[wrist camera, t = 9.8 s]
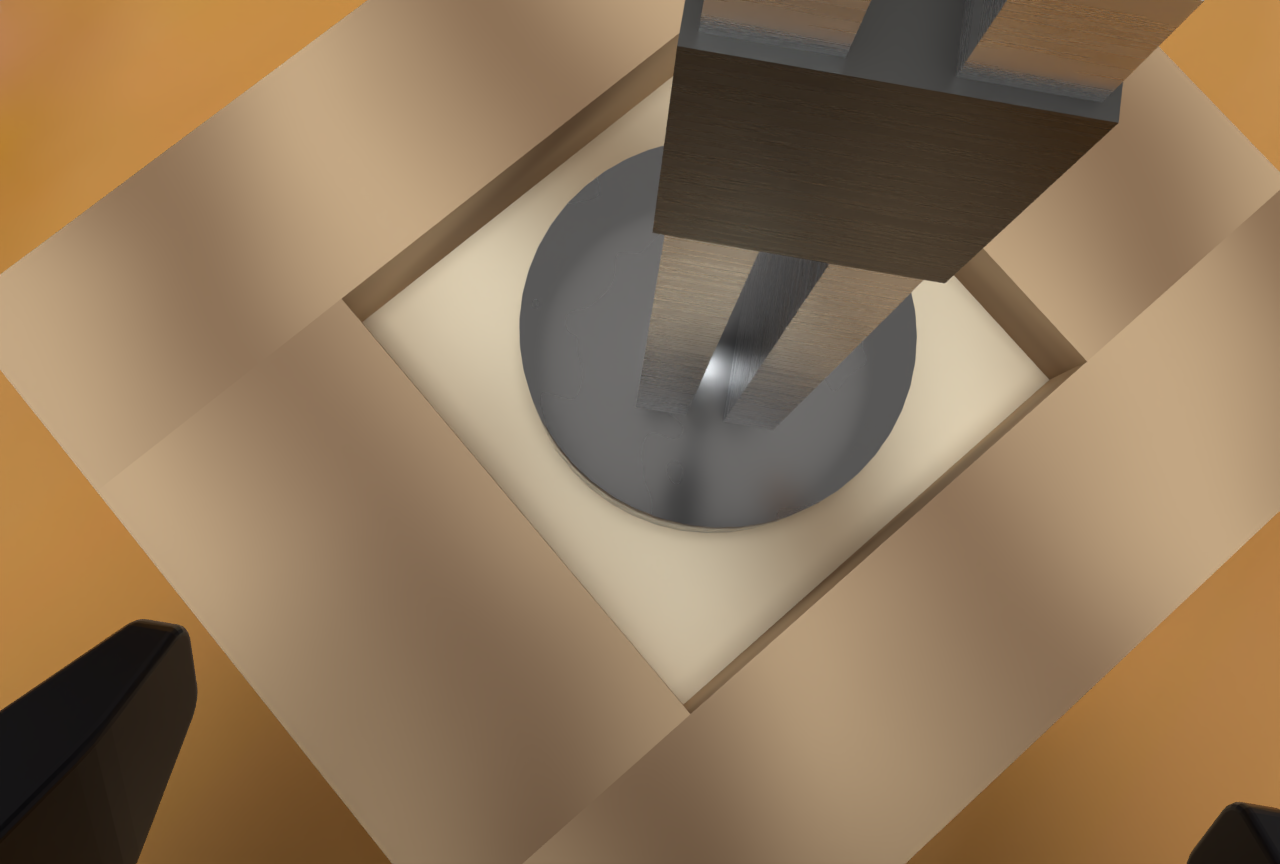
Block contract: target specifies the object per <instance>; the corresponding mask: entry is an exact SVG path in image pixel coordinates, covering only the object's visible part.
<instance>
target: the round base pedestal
mask: <svg viewBox="0 0 1280 864" xmlns="http://www.w3.org/2000/svg"><path fill="white" fill-rule="evenodd" d="M1203 2H1204V0H685V4H684V10H683V15H682V21H681V27H680V32H679V38H678V44H677V51H676V58H675V66H674V73H673V81H672V88H671V96H670V104H669V111H668V119H667V126H666V134H665V141H664V146H660V147H657V148H653V149H649V150H647V151H645V152H642V153H640V154H637V155H635V156H632V157H630V158H628V159H625V160H624V161H622V162H620V163H618V164H617V165H615V166H613V167H611V168H610V169H608V170H606V171H604V172H603V173H602V174H600V175H599V176H598V177H597V178H595V179H594V180H593V181H591V182H590V183H589V184H587V185H586V186H585V187H584V188H583V189H582V190H581V191H580V192H579V193H578V194H577V195H575V196H574V197H573V198H572V199H571V200H570V201H569V202H568V203H567V204H566V206H565V207H564V208H563V210H562V211H561V212H560V213H559V215H558V216H557V217H556V219H555V220H554V221H553V222H552V224H551V225H550V227H549V229H548V231H547V232H546V234H545V236H544V237H543V239H542V241H541V243H540V244H539V246H538V248H537V251H536V253H535V256H534V258H533V261H532V263H531V265H530V268H529V271H528V275H527V278H526V282H525V286H524V290H523V294H522V302H521V310H520V318H519V329H520V350H521V357H522V364H523V370H524V374H525V377H526V381H527V384H528V387H529V391H530V394H531V397H532V400H533V403H534V406H535V408H536V411H537V413H538V416H539V418H540V420H541V423H542V425H543V427H544V429H545V432H546V434H547V435H548V437H549V439H550V440H551V442H552V444H553V445H554V447H555V448H556V450H557V452H558V453H559V455H560V456H561V457H562V458H563V460H564V461H565V462H566V463H567V465H568V466H569V467H570V468H571V470H572V471H573V472H574V473H575V474H576V475H577V476H578V477H579V478H580V479H581V480H582V481H583V482H584V483H585V484H586V485H587V486H589V487H590V488H591V489H592V490H593V491H594V492H596V493H597V494H598V495H600V496H601V497H603V498H604V499H605V500H607V501H608V502H610V503H611V504H612V505H614V506H616V507H618V508H620V509H622V510H623V511H625V512H627V513H629V514H631V515H633V516H635V517H638V518H640V519H643V520H645V521H648V522H651V523H653V524H656V525H660V526H664V527H668V528H672V529H676V530H680V531H690V532H699V533H727V532H736V531H742V530H748V529H754V528H757V527H761V526H764V525H767V524H771V523H774V522H777V521H780V520H782V519H784V518H786V517H789V516H791V515H793V514H795V513H797V512H800V511H802V510H804V509H806V508H809V507H811V506H813V505H815V504H817V503H819V502H820V501H822V500H823V499H825V498H827V497H828V496H830V495H831V494H833V493H835V492H836V491H838V490H839V489H840V488H842V487H843V486H844V485H845V484H846V483H848V482H849V481H850V480H851V479H852V478H854V477H855V476H856V475H857V474H858V473H859V472H860V471H861V470H862V469H863V468H864V467H865V466H866V465H867V464H868V462H869V461H870V460H871V459H872V458H873V457H874V456H875V455H876V453H877V452H878V451H879V449H880V448H881V446H882V445H883V443H884V442H885V440H886V439H887V438H888V436H889V435H890V433H891V431H892V429H893V427H894V425H895V423H896V421H897V419H898V417H899V415H900V413H901V412H902V409H903V406H904V403H905V400H906V398H907V395H908V392H909V389H910V386H911V381H912V376H913V371H914V366H915V359H916V343H917V330H916V315H915V308H914V303H913V298H912V293H911V292H912V291H913V290H914V289H915V288H916V287H917V286H918V285H919V284H920V283H921V282H922V281H923V280H927V281H933V282H939V283H946V282H947V281H948V280H949V279H950V278H951V277H952V276H954V275H955V274H956V273H957V272H958V271H959V270H960V269H961V268H962V267H963V266H964V265H965V264H967V263H968V262H969V261H970V260H971V259H972V258H973V257H974V256H975V255H976V254H977V253H978V252H980V251H981V250H982V249H983V248H984V247H985V246H986V245H987V244H988V243H989V242H990V241H991V240H993V239H994V238H995V237H996V236H997V235H998V234H999V233H1000V232H1001V231H1002V230H1003V229H1004V228H1006V227H1007V226H1008V225H1009V224H1010V223H1011V222H1012V221H1013V220H1014V219H1015V218H1016V217H1017V216H1018V215H1020V214H1021V213H1022V212H1023V211H1024V210H1025V209H1026V208H1027V207H1028V206H1029V205H1030V204H1031V203H1033V202H1034V201H1035V200H1036V199H1037V198H1038V197H1039V196H1040V195H1041V194H1042V193H1043V192H1044V191H1046V190H1047V189H1048V188H1049V187H1050V186H1051V185H1052V184H1053V183H1054V182H1055V181H1056V180H1057V179H1059V178H1060V177H1061V176H1062V175H1063V174H1064V173H1065V172H1066V171H1067V170H1068V169H1069V168H1070V167H1072V166H1073V165H1074V164H1075V163H1076V162H1077V161H1078V160H1079V159H1080V158H1081V157H1082V156H1083V155H1084V154H1086V153H1087V152H1088V151H1089V150H1090V149H1091V148H1092V147H1093V146H1094V145H1095V144H1096V143H1097V142H1099V141H1100V140H1101V139H1102V138H1103V137H1104V136H1105V135H1106V134H1107V133H1108V132H1109V131H1110V130H1112V129H1113V128H1114V127H1115V126H1116V125H1117V124H1118V123H1119V116H1120V106H1121V97H1122V87H1123V81H1124V80H1125V79H1126V78H1127V77H1128V76H1129V75H1130V74H1131V73H1132V72H1133V71H1134V70H1135V69H1136V68H1137V67H1138V66H1139V65H1140V64H1141V63H1142V62H1143V61H1144V60H1145V59H1146V58H1147V57H1148V56H1149V55H1150V54H1151V53H1152V52H1153V51H1154V50H1155V49H1156V48H1157V47H1158V46H1159V45H1160V44H1161V43H1162V42H1163V41H1164V40H1165V39H1166V38H1167V37H1168V36H1169V35H1170V34H1171V33H1172V32H1173V31H1174V30H1175V29H1176V28H1177V27H1178V26H1179V25H1180V24H1181V23H1182V22H1183V21H1184V20H1185V19H1186V18H1187V17H1188V16H1189V15H1190V14H1191V13H1192V12H1193V11H1194V10H1195V9H1197V8H1198V7H1199V6H1200V5H1201V4H1202V3H1203Z"/></svg>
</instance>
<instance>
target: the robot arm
mask: <svg viewBox="0 0 1280 864" xmlns="http://www.w3.org/2000/svg"><path fill="white" fill-rule="evenodd" d="M196 701H197V682H196V676H195V669H194V662H193V655H192V648H191V642H190V637H189V634H188V632H187V630H186V629H185V628H184V627H183V626H180V625H177V624H171V623H165V622H159V621H153V620H146V619H140V620H136V621H134V622H131V623H129V624H127V625H126V626H124V627H123V628H121V629H120V630H118V631H117V632H115V633H114V634H112V635H111V636H110V637H108V638H107V639H105V640H104V641H102V642H101V643H99V644H98V645H96V646H95V647H93V648H92V649H90V650H89V651H88V652H86V653H85V654H83V655H82V656H80V657H79V658H77V659H76V660H74V661H73V662H71V663H70V664H68V665H67V666H65V667H64V668H63V669H61V670H60V671H58V672H57V673H55V674H54V675H52V676H51V677H49V678H48V679H46V680H45V681H43V682H42V683H41V684H39V685H38V686H36V687H35V688H33V689H32V690H30V691H29V692H27V693H26V694H24V695H23V696H21V697H20V698H18V699H17V700H16V701H14V702H13V703H11V704H10V705H8V706H7V707H5V708H4V709H2V710H1V711H0V864H136V863H137V861H138V859H139V856H140V854H141V851H142V848H143V846H144V843H145V840H146V838H147V835H148V833H149V830H150V827H151V825H152V822H153V820H154V817H155V814H156V812H157V809H158V806H159V804H160V801H161V799H162V796H163V793H164V791H165V788H166V786H167V783H168V780H169V778H170V775H171V772H172V770H173V767H174V765H175V762H176V759H177V757H178V754H179V752H180V749H181V746H182V744H183V741H184V738H185V736H186V733H187V731H188V728H189V725H190V723H191V720H192V717H193V714H194V711H195V707H196ZM1187 864H1280V809H1277V808H1273V807H1267V806H1261V805H1255V804H1249V803H1243V802H1235V803H1233V804H1230V805H1228V806H1227V807H1226V808H1225V809H1224V810H1223V811H1222V812H1221V813H1220V815H1219V816H1218V817H1217V819H1216V820H1215V821H1214V823H1213V824H1212V825H1211V827H1210V828H1209V829H1208V831H1207V832H1206V833H1205V835H1204V836H1203V837H1202V839H1201V840H1200V841H1199V843H1198V844H1197V845H1196V847H1195V848H1194V849H1193V851H1192V852H1191V854H1190V856H1189V859H1188V862H1187Z"/></svg>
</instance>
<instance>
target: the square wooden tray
mask: <svg viewBox="0 0 1280 864" xmlns="http://www.w3.org/2000/svg"><path fill="white" fill-rule="evenodd" d="M684 4H685V0H367V1H366V2H365V3H363V4H362V5H361V6H359V7H358V8H357V9H355V10H354V11H353V12H351V13H350V14H349V15H347V16H346V17H344V18H343V19H342V20H340V21H339V22H338V23H336V24H335V25H334V26H332V27H331V28H330V29H328V30H327V31H326V32H324V33H323V34H322V35H320V36H319V37H318V38H316V39H315V40H314V41H312V42H311V43H310V44H308V45H307V46H306V47H304V48H303V49H302V50H300V51H299V52H298V53H296V54H295V55H294V56H292V57H291V58H290V59H288V60H287V61H286V62H284V63H283V64H282V65H280V66H279V67H278V68H276V69H275V70H274V71H272V72H271V73H269V74H268V75H267V76H265V77H264V78H263V79H261V80H260V81H259V82H257V83H256V84H255V85H253V86H252V87H251V88H249V89H248V90H247V91H245V92H244V93H243V94H241V95H240V96H239V97H237V98H236V99H235V100H233V101H232V102H231V103H229V104H228V105H227V106H225V107H224V108H223V109H221V110H220V111H219V112H217V113H216V114H215V115H213V116H212V117H211V118H209V119H208V120H207V121H205V122H204V123H203V124H201V125H200V126H199V127H197V128H196V129H195V130H193V131H192V132H190V133H189V134H188V135H186V136H185V137H184V138H182V139H181V140H180V141H178V142H177V143H176V144H174V145H173V146H172V147H170V148H169V149H168V150H166V151H165V152H164V153H162V154H161V155H160V156H158V157H157V158H156V159H154V160H153V161H152V162H150V163H149V164H148V165H146V166H145V167H144V168H142V169H141V170H140V171H138V172H137V173H136V174H134V175H133V176H132V177H130V178H129V179H128V180H126V181H125V182H124V183H122V184H121V185H120V186H118V187H117V188H115V189H114V190H113V191H111V192H110V193H109V194H107V195H106V196H105V197H103V198H102V199H101V200H99V201H98V202H97V203H95V204H94V205H93V206H91V207H90V208H89V209H87V210H86V211H85V212H83V213H82V214H81V215H79V216H78V217H77V218H75V219H74V220H73V221H71V222H70V223H69V224H67V225H66V226H65V227H63V228H62V229H61V230H59V231H58V232H57V233H55V234H54V235H53V236H51V237H50V238H49V239H47V240H46V241H45V242H43V243H42V244H40V245H39V246H38V247H36V248H35V249H34V250H32V251H31V252H30V253H28V254H27V255H26V256H24V257H23V258H22V259H20V260H19V261H18V262H16V263H15V264H14V265H12V266H11V267H10V268H8V269H7V270H6V271H4V272H3V273H2V274H0V370H1V371H2V373H3V374H4V375H5V376H6V378H7V379H8V380H9V381H10V383H11V384H12V385H13V386H14V388H15V389H16V390H17V391H18V393H19V394H20V395H21V397H22V398H23V399H24V400H25V402H26V403H27V404H28V405H29V407H30V408H31V409H32V410H33V412H34V413H35V414H36V415H37V417H38V418H39V419H40V420H41V422H42V423H43V424H44V426H45V427H46V428H47V429H48V431H49V432H50V433H51V434H52V436H53V437H54V438H55V439H56V441H57V442H58V443H59V444H60V446H61V447H62V448H63V449H64V451H65V452H66V453H67V454H68V456H69V457H70V458H71V460H72V461H73V462H74V463H75V465H76V466H77V467H78V468H79V470H80V471H81V472H82V473H83V475H84V476H85V477H86V478H87V480H88V481H89V482H90V483H91V485H92V486H93V487H94V489H95V490H96V491H97V492H98V494H99V495H100V496H101V497H102V499H103V500H104V501H105V502H106V504H107V505H108V506H109V507H110V509H111V510H112V511H113V512H114V514H115V515H116V516H117V518H118V519H119V520H120V521H121V523H122V524H123V525H124V526H125V528H126V529H127V530H128V531H129V533H130V534H131V535H132V536H133V538H134V539H135V540H136V541H137V543H138V544H139V545H140V546H141V548H142V549H143V550H144V552H145V553H146V554H147V555H148V557H149V558H150V559H151V560H152V562H153V563H154V564H155V565H156V567H157V568H158V569H159V570H160V572H161V573H162V574H163V575H164V577H165V578H166V579H167V581H168V582H169V583H170V584H171V586H172V587H173V588H174V589H175V591H176V592H177V593H178V594H179V596H180V597H181V598H182V599H183V601H184V602H185V603H186V604H187V606H188V607H189V608H190V610H191V611H192V612H193V613H194V615H195V616H196V617H197V618H198V620H199V621H200V622H201V623H202V625H203V626H204V627H205V628H206V630H207V631H208V632H209V633H210V635H211V636H212V637H213V638H214V640H215V641H216V642H217V644H218V645H219V646H220V647H221V649H222V650H223V651H224V652H225V654H226V655H227V656H228V657H229V659H230V660H231V661H232V662H233V664H234V665H235V666H236V667H237V669H238V670H239V671H240V673H241V674H242V675H243V676H244V678H245V679H246V680H247V681H248V683H249V684H250V685H251V686H252V688H253V689H254V690H255V691H256V693H257V694H258V695H259V696H260V698H261V699H262V700H263V701H264V703H265V704H266V705H267V707H268V708H269V709H270V710H271V712H272V713H273V714H274V715H275V717H276V718H277V719H278V720H279V722H280V723H281V724H282V725H283V727H284V728H285V729H286V730H287V732H288V733H289V734H290V736H291V737H292V738H293V739H294V741H295V742H296V743H297V744H298V746H299V747H300V748H301V749H302V751H303V752H304V753H305V754H306V756H307V757H308V758H309V759H310V761H311V762H312V763H313V765H314V766H315V767H316V768H317V770H318V771H319V772H320V773H321V775H322V776H323V777H324V778H325V780H326V781H327V782H328V783H329V785H330V786H331V787H332V788H333V790H334V791H335V792H336V793H337V795H338V796H339V797H340V799H341V800H342V801H343V802H344V804H345V805H346V806H347V807H348V809H349V810H350V811H351V812H352V814H353V815H354V816H355V817H356V819H357V820H358V821H359V822H360V824H361V825H362V826H363V828H364V829H365V830H366V831H367V833H368V834H369V835H370V836H371V838H372V839H373V840H374V841H375V843H376V844H377V845H378V846H379V848H380V849H381V850H382V851H383V853H384V854H385V855H386V857H387V858H388V859H389V860H390V862H391V863H392V864H905V863H907V862H908V861H909V860H910V859H911V858H912V857H913V856H914V855H915V854H916V853H917V852H918V851H919V850H920V849H921V848H922V847H924V846H925V845H926V844H927V843H928V842H929V841H930V840H931V839H932V838H933V837H934V836H935V835H936V834H937V833H938V832H939V831H940V830H942V829H943V828H944V827H945V826H946V825H947V824H948V823H949V822H950V821H951V820H952V819H953V818H954V817H955V816H956V815H957V814H959V813H960V812H961V811H962V810H963V809H964V808H965V807H966V806H967V805H968V804H969V803H970V802H971V801H972V800H973V799H974V798H976V797H977V796H978V795H979V794H980V793H981V792H982V791H983V790H984V789H985V788H986V787H987V786H988V785H989V784H990V783H991V782H992V781H994V780H995V779H996V778H997V777H998V776H999V775H1000V774H1001V773H1002V772H1003V771H1004V770H1005V769H1006V768H1007V767H1008V766H1009V765H1011V764H1012V763H1013V762H1014V761H1015V760H1016V759H1017V758H1018V757H1019V756H1020V755H1021V754H1022V753H1023V752H1024V751H1025V750H1026V749H1028V748H1029V747H1030V746H1031V745H1032V744H1033V743H1034V742H1035V741H1036V740H1037V739H1038V738H1039V737H1040V736H1041V735H1042V734H1043V733H1044V732H1046V731H1047V730H1048V729H1049V728H1050V727H1051V726H1052V725H1053V724H1054V723H1055V722H1056V721H1057V720H1058V719H1059V718H1060V717H1061V716H1063V715H1064V714H1065V713H1066V712H1067V711H1068V710H1069V709H1070V708H1071V707H1072V706H1073V705H1074V704H1075V703H1076V702H1077V701H1078V700H1079V699H1081V698H1082V697H1083V696H1084V695H1085V694H1086V693H1087V692H1088V691H1089V690H1090V689H1091V688H1092V687H1093V686H1094V685H1095V684H1096V683H1098V682H1099V681H1100V680H1101V679H1102V678H1103V677H1104V676H1105V675H1106V674H1107V673H1108V672H1109V671H1110V670H1111V669H1112V668H1113V667H1115V666H1116V665H1117V664H1118V663H1119V662H1120V661H1121V660H1122V659H1123V658H1124V657H1125V656H1126V655H1127V654H1128V653H1129V652H1130V651H1131V650H1133V649H1134V648H1135V647H1136V646H1137V645H1138V644H1139V643H1140V642H1141V641H1142V640H1143V639H1144V638H1145V637H1146V636H1147V635H1148V634H1150V633H1151V632H1152V631H1153V630H1154V629H1155V628H1156V627H1157V626H1158V625H1159V624H1160V623H1161V622H1162V621H1163V620H1164V619H1165V618H1167V617H1168V616H1169V615H1170V614H1171V613H1172V612H1173V611H1174V610H1175V609H1176V608H1177V607H1178V606H1179V605H1180V604H1181V603H1182V602H1183V601H1185V600H1186V599H1187V598H1188V597H1189V596H1190V595H1191V594H1192V593H1193V592H1194V591H1195V590H1196V589H1197V588H1198V587H1199V586H1200V585H1202V584H1203V583H1204V582H1205V581H1206V580H1207V579H1208V578H1209V577H1210V576H1211V575H1212V574H1213V573H1214V572H1215V571H1216V570H1217V569H1219V568H1220V567H1221V566H1222V565H1223V564H1224V563H1225V562H1226V561H1227V560H1228V559H1229V558H1230V557H1231V556H1232V555H1233V554H1234V553H1235V552H1237V551H1238V550H1239V549H1240V548H1241V547H1242V546H1243V545H1244V544H1245V543H1246V542H1247V541H1248V540H1249V539H1250V538H1251V537H1252V536H1254V535H1255V534H1256V533H1257V532H1258V531H1259V530H1260V529H1261V528H1262V527H1263V526H1264V525H1265V524H1266V523H1267V522H1268V521H1269V520H1270V519H1272V518H1273V517H1274V516H1275V515H1276V514H1277V513H1278V512H1279V511H1280V172H1279V171H1278V170H1277V169H1276V168H1275V167H1274V166H1273V165H1272V164H1271V163H1270V162H1269V161H1268V160H1267V159H1266V158H1265V156H1264V155H1263V154H1262V153H1261V152H1260V151H1259V150H1258V149H1257V148H1256V147H1255V146H1254V145H1253V144H1252V143H1251V142H1250V141H1249V140H1248V139H1247V138H1246V137H1245V136H1244V135H1243V134H1242V133H1241V132H1240V131H1239V129H1238V128H1237V127H1236V126H1235V125H1234V124H1233V123H1232V122H1231V121H1230V120H1229V119H1228V118H1227V117H1226V116H1225V115H1224V114H1223V113H1222V112H1221V111H1220V110H1219V109H1218V108H1217V107H1216V106H1215V105H1214V104H1213V102H1212V101H1211V100H1210V99H1209V98H1208V97H1207V96H1206V95H1205V94H1204V93H1203V92H1202V91H1201V90H1200V89H1199V88H1198V87H1197V86H1196V85H1195V84H1194V83H1193V82H1192V81H1191V80H1190V79H1189V78H1188V77H1187V75H1186V74H1185V73H1184V72H1183V71H1182V70H1181V69H1180V68H1179V67H1178V66H1177V65H1176V64H1175V63H1174V62H1173V61H1172V60H1171V59H1170V58H1169V57H1168V56H1167V55H1166V54H1165V53H1164V52H1163V51H1162V50H1161V48H1160V47H1159V46H1158V47H1157V48H1156V49H1155V50H1154V51H1153V52H1152V53H1151V54H1150V55H1149V56H1148V57H1147V58H1146V59H1145V60H1144V61H1143V62H1142V63H1141V64H1140V65H1139V66H1138V67H1137V68H1136V69H1135V70H1134V71H1133V72H1132V73H1131V74H1130V75H1129V76H1128V77H1127V78H1126V79H1125V80H1124V81H1123V87H1122V97H1121V106H1120V116H1119V123H1118V124H1117V125H1116V126H1115V127H1114V128H1113V129H1112V130H1110V131H1109V132H1108V133H1107V134H1106V135H1105V136H1104V137H1103V138H1102V139H1101V140H1100V141H1099V142H1097V143H1096V144H1095V145H1094V146H1093V147H1092V148H1091V149H1090V150H1089V151H1088V152H1087V153H1086V154H1084V155H1083V156H1082V157H1081V158H1080V159H1079V160H1078V161H1077V162H1076V163H1075V164H1074V165H1073V166H1072V167H1070V168H1069V169H1068V170H1067V171H1066V172H1065V173H1064V174H1063V175H1062V176H1061V177H1060V178H1059V179H1057V180H1056V181H1055V182H1054V183H1053V184H1052V185H1051V186H1050V187H1049V188H1048V189H1047V190H1046V191H1044V192H1043V193H1042V194H1041V195H1040V196H1039V197H1038V198H1037V199H1036V200H1035V201H1034V202H1033V203H1031V204H1030V205H1029V206H1028V207H1027V208H1026V209H1025V210H1024V211H1023V212H1022V213H1021V214H1020V215H1018V216H1017V217H1016V218H1015V219H1014V220H1013V221H1012V222H1011V223H1010V224H1009V225H1008V226H1007V227H1006V228H1004V229H1003V230H1002V231H1001V232H1000V233H999V234H998V235H997V236H996V237H995V238H994V239H993V240H991V241H990V242H989V243H988V244H987V245H986V246H985V247H984V248H983V249H982V250H981V251H980V252H978V253H977V254H976V255H975V256H974V257H973V258H972V259H971V260H970V261H969V262H968V263H967V264H965V265H964V266H963V267H962V268H961V269H960V270H959V271H958V272H957V273H956V274H955V275H954V276H952V277H951V278H950V279H949V280H948V281H947V282H946V283H939V282H933V281H927V280H923V281H922V282H921V283H920V284H919V285H918V286H917V287H916V288H915V289H914V290H913V291H912V292H911V293H912V298H913V303H914V308H915V315H916V330H917V343H916V359H915V366H914V371H913V376H912V381H911V386H910V389H909V392H908V395H907V398H906V400H905V403H904V406H903V409H902V412H901V413H900V415H899V417H898V419H897V421H896V423H895V425H894V427H893V429H892V431H891V433H890V435H889V436H888V438H887V439H886V440H885V442H884V443H883V445H882V446H881V448H880V449H879V451H878V452H877V453H876V455H875V456H874V457H873V458H872V459H871V460H870V461H869V462H868V464H867V465H866V466H865V467H864V468H863V469H862V470H861V471H860V472H859V473H858V474H857V475H856V476H855V477H854V478H852V479H851V480H850V481H849V482H848V483H846V484H845V485H844V486H843V487H842V488H840V489H839V490H838V491H836V492H835V493H833V494H831V495H830V496H828V497H827V498H825V499H823V500H822V501H820V502H819V503H817V504H815V505H813V506H811V507H809V508H806V509H804V510H802V511H800V512H797V513H795V514H793V515H791V516H789V517H786V518H784V519H782V520H780V521H777V522H774V523H771V524H767V525H764V526H761V527H757V528H754V529H748V530H742V531H736V532H727V533H699V532H690V531H680V530H676V529H672V528H668V527H664V526H660V525H656V524H653V523H651V522H648V521H645V520H643V519H640V518H638V517H635V516H633V515H631V514H629V513H627V512H625V511H623V510H622V509H620V508H618V507H616V506H614V505H612V504H611V503H610V502H608V501H607V500H605V499H604V498H603V497H601V496H600V495H598V494H597V493H596V492H594V491H593V490H592V489H591V488H590V487H589V486H587V485H586V484H585V483H584V482H583V481H582V480H581V479H580V478H579V477H578V476H577V475H576V474H575V473H574V472H573V471H572V470H571V468H570V467H569V466H568V465H567V463H566V462H565V461H564V460H563V458H562V457H561V456H560V455H559V453H558V452H557V450H556V448H555V447H554V445H553V444H552V442H551V440H550V439H549V437H548V435H547V434H546V432H545V429H544V427H543V425H542V423H541V420H540V418H539V416H538V413H537V411H536V408H535V406H534V403H533V400H532V397H531V394H530V391H529V387H528V384H527V381H526V377H525V374H524V370H523V364H522V357H521V350H520V329H519V318H520V310H521V302H522V294H523V290H524V286H525V282H526V278H527V275H528V271H529V268H530V265H531V263H532V261H533V258H534V256H535V253H536V251H537V248H538V246H539V244H540V243H541V241H542V239H543V237H544V236H545V234H546V232H547V231H548V229H549V227H550V225H551V224H552V222H553V221H554V220H555V219H556V217H557V216H558V215H559V213H560V212H561V211H562V210H563V208H564V207H565V206H566V204H567V203H568V202H569V201H570V200H571V199H572V198H573V197H574V196H575V195H577V194H578V193H579V192H580V191H581V190H582V189H583V188H584V187H585V186H586V185H587V184H589V183H590V182H591V181H593V180H594V179H595V178H597V177H598V176H599V175H600V174H602V173H603V172H604V171H606V170H608V169H610V168H611V167H613V166H615V165H617V164H618V163H620V162H622V161H624V160H625V159H628V158H630V157H632V156H635V155H637V154H640V153H642V152H645V151H647V150H649V149H653V148H657V147H660V146H664V141H665V134H666V126H667V119H668V111H669V104H670V96H671V88H672V81H673V73H674V66H675V58H676V51H677V44H678V38H679V32H680V27H681V21H682V15H683V10H684Z"/></svg>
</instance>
